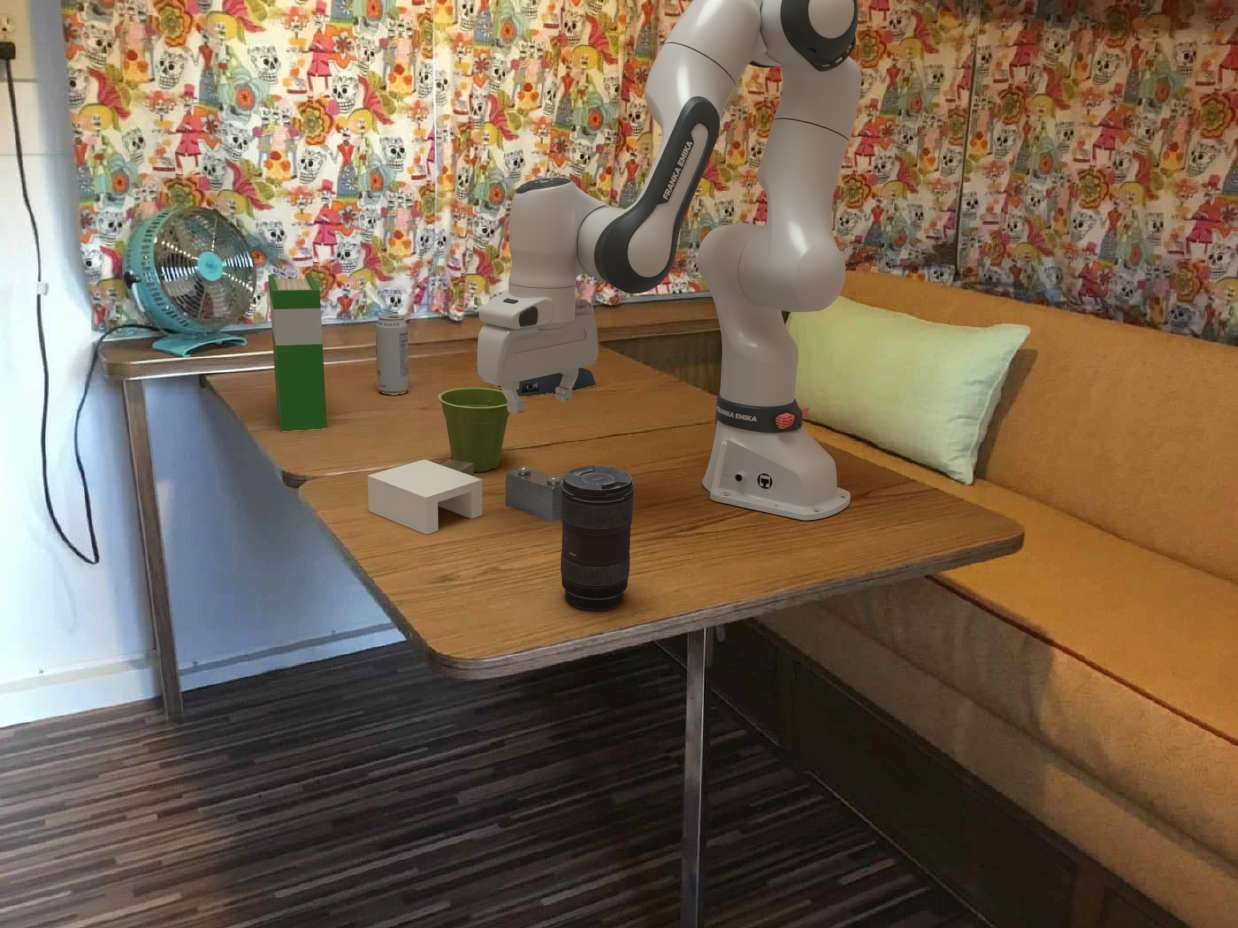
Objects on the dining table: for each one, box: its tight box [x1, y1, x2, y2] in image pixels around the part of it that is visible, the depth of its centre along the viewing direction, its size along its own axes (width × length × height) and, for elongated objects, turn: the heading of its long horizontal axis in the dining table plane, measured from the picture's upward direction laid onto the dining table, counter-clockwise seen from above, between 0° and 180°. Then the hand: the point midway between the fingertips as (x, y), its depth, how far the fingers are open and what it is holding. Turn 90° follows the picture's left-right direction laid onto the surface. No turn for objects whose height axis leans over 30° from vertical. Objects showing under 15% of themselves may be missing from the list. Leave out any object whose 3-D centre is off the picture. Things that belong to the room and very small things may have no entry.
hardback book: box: [267, 273, 328, 432], centre depth 179 cm, size 18×7×24 cm, turn 20°
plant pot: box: [437, 387, 511, 473], centre depth 159 cm, size 12×12×11 cm
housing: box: [505, 464, 563, 523], centre depth 143 cm, size 9×4×6 cm, turn 51°
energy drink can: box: [374, 313, 410, 394], centre depth 199 cm, size 6×6×15 cm
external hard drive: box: [498, 367, 597, 397], centre depth 211 cm, size 13×19×4 cm
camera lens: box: [560, 465, 635, 611], centre depth 116 cm, size 8×8×15 cm
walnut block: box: [440, 459, 474, 477], centre depth 150 cm, size 4×4×4 cm
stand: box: [367, 459, 483, 535], centre depth 140 cm, size 12×10×5 cm
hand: (540, 406), depth 139 cm, fingers open, 8 cm apart
